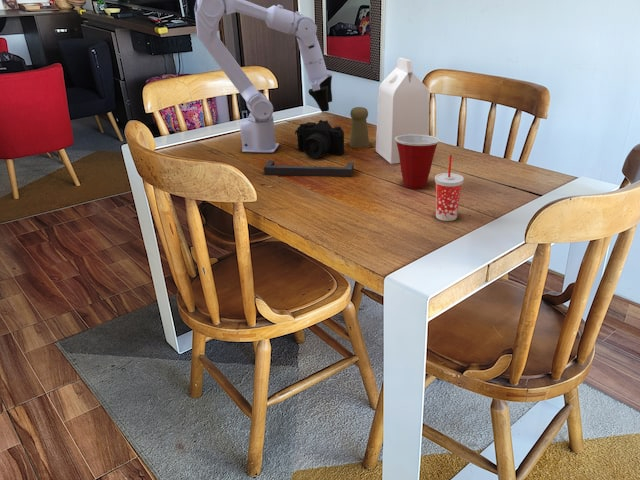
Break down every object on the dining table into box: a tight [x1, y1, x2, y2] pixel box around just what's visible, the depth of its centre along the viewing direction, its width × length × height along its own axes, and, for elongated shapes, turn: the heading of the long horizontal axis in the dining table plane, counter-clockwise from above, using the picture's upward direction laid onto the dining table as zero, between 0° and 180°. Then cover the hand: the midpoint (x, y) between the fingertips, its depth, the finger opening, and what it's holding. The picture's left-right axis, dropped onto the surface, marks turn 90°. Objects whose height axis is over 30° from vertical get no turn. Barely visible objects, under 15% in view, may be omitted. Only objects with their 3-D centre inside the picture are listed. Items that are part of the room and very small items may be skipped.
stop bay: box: [263, 159, 355, 177], centre depth 151 cm, size 23×6×2 cm, turn 85°
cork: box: [349, 106, 371, 149], centre depth 169 cm, size 6×6×11 cm
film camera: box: [294, 119, 346, 159], centre depth 162 cm, size 15×10×9 cm, turn 70°
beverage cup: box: [434, 154, 465, 222], centre depth 122 cm, size 6×6×14 cm
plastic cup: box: [395, 134, 440, 190], centre depth 140 cm, size 11×11×12 cm
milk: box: [375, 56, 430, 165], centre depth 156 cm, size 12×12×26 cm
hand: (327, 106), depth 169 cm, fingers open, 7 cm apart
